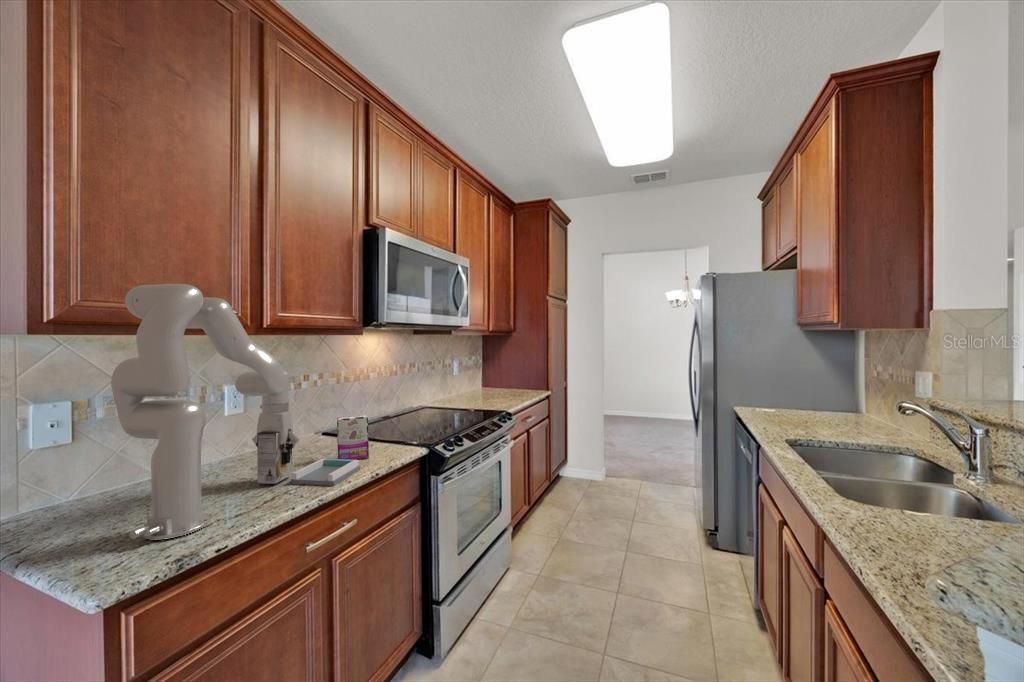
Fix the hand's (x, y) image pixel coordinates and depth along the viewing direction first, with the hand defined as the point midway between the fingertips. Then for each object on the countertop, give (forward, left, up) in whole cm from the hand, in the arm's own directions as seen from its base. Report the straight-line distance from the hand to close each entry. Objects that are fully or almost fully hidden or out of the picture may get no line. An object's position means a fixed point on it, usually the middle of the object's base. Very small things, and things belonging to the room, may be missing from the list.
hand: (275, 462), depth 133 cm
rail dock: (+7, -14, -6) cm, 17 cm away
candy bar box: (+27, -12, -6) cm, 30 cm away
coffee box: (0, 0, -6) cm, 6 cm away
